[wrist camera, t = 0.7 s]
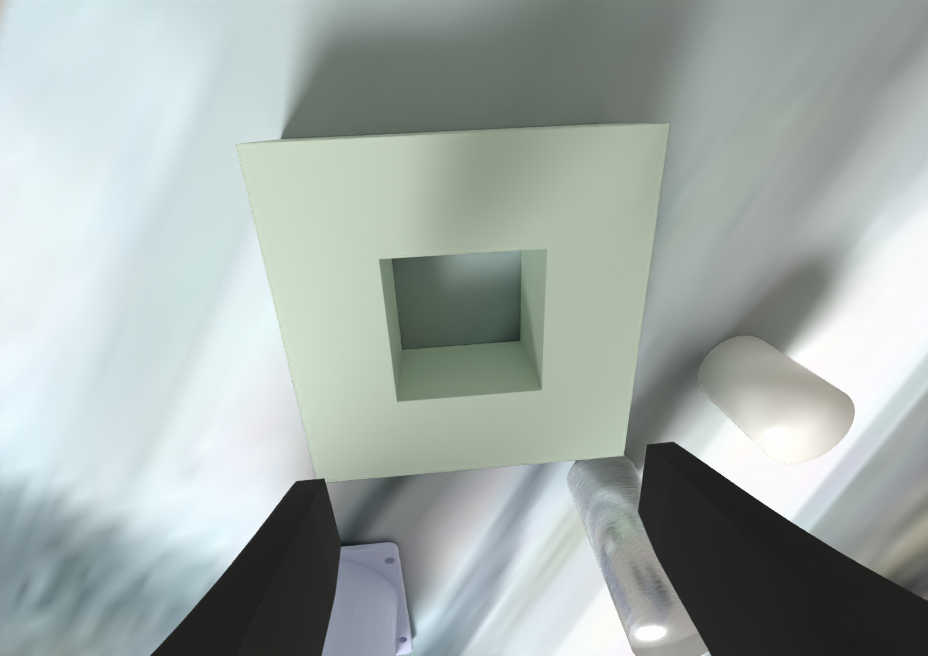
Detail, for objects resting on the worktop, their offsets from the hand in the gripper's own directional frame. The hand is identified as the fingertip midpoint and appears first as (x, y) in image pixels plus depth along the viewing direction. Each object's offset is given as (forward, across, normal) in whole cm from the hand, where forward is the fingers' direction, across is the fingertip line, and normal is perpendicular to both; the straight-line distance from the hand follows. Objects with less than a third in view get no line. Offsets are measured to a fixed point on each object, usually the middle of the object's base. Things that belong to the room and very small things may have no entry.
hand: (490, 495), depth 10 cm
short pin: (+10, -13, +4) cm, 17 cm away
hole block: (+10, 0, -1) cm, 10 cm away
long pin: (+10, -7, +10) cm, 15 cm away
